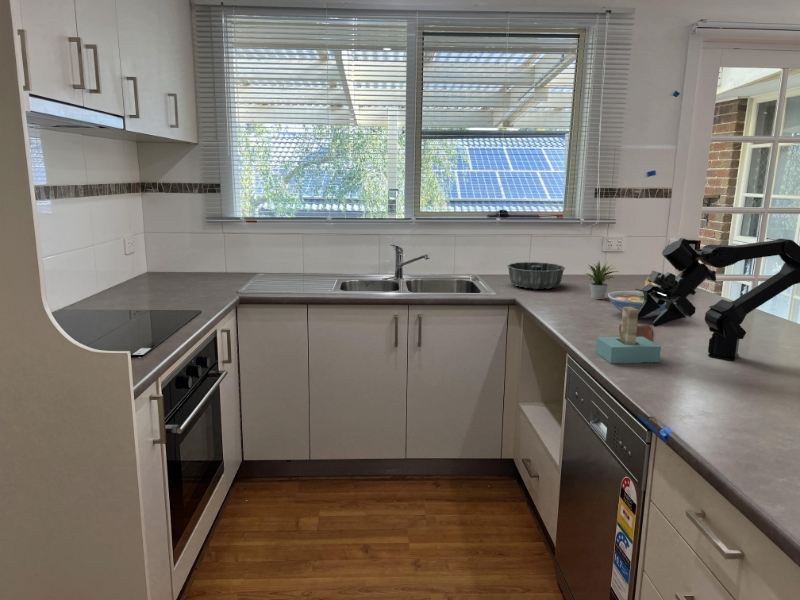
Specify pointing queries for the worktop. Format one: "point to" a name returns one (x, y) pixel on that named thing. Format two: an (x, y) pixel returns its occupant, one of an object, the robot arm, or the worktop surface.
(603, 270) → the house plant
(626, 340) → the slat
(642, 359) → the end cap
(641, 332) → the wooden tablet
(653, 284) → the snack package
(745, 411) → the worktop surface
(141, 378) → the worktop surface
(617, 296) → the ramen bowl
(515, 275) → the bundt pan
